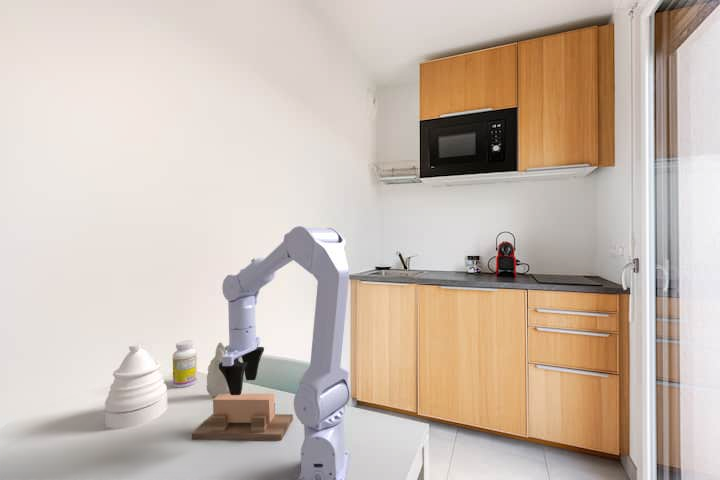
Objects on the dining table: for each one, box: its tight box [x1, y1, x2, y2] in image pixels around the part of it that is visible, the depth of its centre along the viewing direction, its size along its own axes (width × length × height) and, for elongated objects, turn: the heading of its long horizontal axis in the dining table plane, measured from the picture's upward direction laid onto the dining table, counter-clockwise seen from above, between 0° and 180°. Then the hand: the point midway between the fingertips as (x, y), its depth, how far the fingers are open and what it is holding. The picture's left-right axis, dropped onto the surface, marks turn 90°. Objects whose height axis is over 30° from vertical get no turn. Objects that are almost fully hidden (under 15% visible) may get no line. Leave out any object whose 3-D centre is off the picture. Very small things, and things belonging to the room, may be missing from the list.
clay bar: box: [212, 393, 276, 423], centre depth 71 cm, size 3×13×5 cm, turn 85°
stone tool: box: [206, 342, 230, 398], centre depth 88 cm, size 8×3×15 cm, turn 75°
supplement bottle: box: [172, 339, 198, 388], centre depth 98 cm, size 7×7×13 cm
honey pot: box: [104, 343, 168, 430], centre depth 80 cm, size 13×13×18 cm
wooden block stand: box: [191, 402, 294, 441], centre depth 71 cm, size 8×20×4 cm, turn 85°
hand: (243, 386), depth 71 cm, fingers open, 7 cm apart
